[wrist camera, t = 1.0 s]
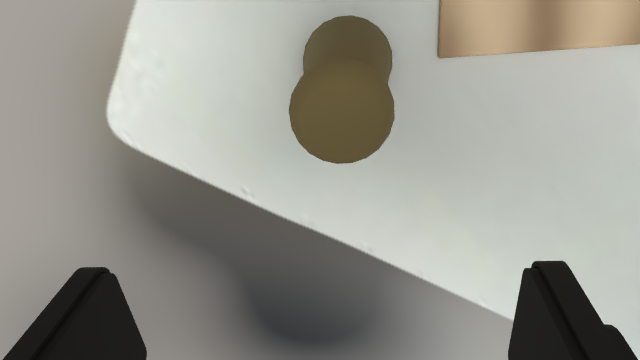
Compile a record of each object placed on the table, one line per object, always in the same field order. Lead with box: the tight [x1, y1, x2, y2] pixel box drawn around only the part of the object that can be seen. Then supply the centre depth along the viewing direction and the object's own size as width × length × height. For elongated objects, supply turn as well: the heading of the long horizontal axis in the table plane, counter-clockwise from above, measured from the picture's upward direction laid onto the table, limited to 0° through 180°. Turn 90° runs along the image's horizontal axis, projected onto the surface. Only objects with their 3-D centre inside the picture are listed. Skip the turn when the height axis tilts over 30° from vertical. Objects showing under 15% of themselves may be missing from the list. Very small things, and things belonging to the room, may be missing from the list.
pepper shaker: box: [289, 16, 394, 164], centre depth 25 cm, size 6×6×11 cm
